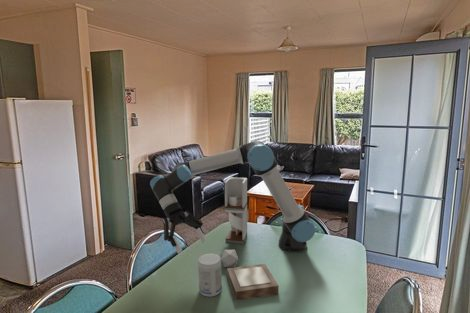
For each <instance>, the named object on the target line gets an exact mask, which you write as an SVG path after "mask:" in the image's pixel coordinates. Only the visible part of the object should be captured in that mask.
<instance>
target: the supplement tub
mask: <svg viewBox="0 0 470 313" xmlns="http://www.w3.org/2000/svg"><path fill="white" fill-rule="evenodd" d="M221 258H222V257H221V256H220V255H219V254H216V253H204V254H202V255H201V256H199V258H198V260H197V262H198V263H197V267H198V268H197V269H198V270H197V271H198V288H199V293H200V294H201V295H202V296H204V297H208V298H209V297H216V296H218V295H219V294H221V292H222V290H223V284H222V282H223V281H222V280H223V279H222V276H223V275H222V260H221Z"/></svg>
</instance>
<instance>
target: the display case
mask: <svg viewBox="0 0 470 313" xmlns="http://www.w3.org/2000/svg"><path fill="white" fill-rule="evenodd" d="M224 213H228V222H229V224H230V225H231V228H230V229H231V230H229V231H228V233H227V235H226V237H225V243H232V244H233V243H235V244H245V242H246V239H247V237H248V178H247V177H231V176H230V177H228V178H227V179H226V180H225V181H224Z"/></svg>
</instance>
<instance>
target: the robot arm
mask: <svg viewBox="0 0 470 313" xmlns="http://www.w3.org/2000/svg"><path fill="white" fill-rule="evenodd" d="M237 164H241V165H244V164H249V165H250V166H251V168H252V170H253V171H254V173H255V175H256V176H257V177H261V180H262V181H263V182H264V184H265V185H266V186H265V187H266V188H267V190H268V191H269V193H270V195H271V196H272V197H273V200H274V201H275V203H276V205H277V207H278V208H279V209H280V211H281V213H282V214H281V215H282V218H281V219H282V221H281V222H282V224H281V228H282V229H281V233H280V236H279V240H278V246H279V248H281V249H282V250H284V251H287V252H293V253H294V252H302V251H304V250H306V249H307V244H308V243H307V242H308V241H310V240H312V238H313V237H314V235H315V234H316V226H315V224H314V222H313V221H311V219H310V217H309V216H308V213H307V212H306V210H305V206H304V205H302V204H298V203H297V201H296V200H295V198H294V195H293V193H292V192H291V190H290V189H289V187H288V185H287V183H286V181H285V180H284V178H283V177H282V175H281V173H280V171H279V169H278V165H279V163H278V160H276V157H275V154H274V151H273V150H272V149H271V148H270V146H268V145H267V144H265V143H264V142H261V141H260V140H259V141H258V140H254V141H250V142H247V143H243V144H241V145H238V146H237V147H236V148H235V149H230V150H226V151H223V152H219V153H215V154H211V155H207V156H204V157H201V158H195V159H192V160H189V161H181V162H178V163H176V164H175V165H174V167H173V170H172V171H171V172H170V173H169V174H167V175H165V176H164V175H162V174H159V175H157V176H154V177H153V178H152V179H151V180H150V182H149V185H150V188H151V190H152V192H153V193H154V195H155V198H156V199H157V201H158V203H159V205H160V206H161V209H162V210H163V212H164V214H165V216H166V217H164V218H163V219H162V224H163V240H164V241H167V242H170V245H171V246H172V247H173V248H174V249H175V250H176V252H177V254H178V255H179V254H181V253H182V252H183V249H182V247H181V245H180V243H179V241H178V240H177V238H176V237H175V236H174V234H175V229H176V226H178V225H182V224H184V225H185V224H186V225H187V226H189V227H191V228H194V229H196V230H195V233H196V234H197V236H198V237H199V239H200V241H201V243H202V244H203V243H205V242H206V241H207V238H206V236H205V233H204V230H203V229H202V226H203V224H204V223H203V222H202V221H201V220H199V219H198V218H197V217H196V216H195V215H193V213H191V212H190V210H189V209H187V210H186V211H185V212H184V211H183V209H182V206H181V204H180V202H178V199H177V198H176V196H175V194H174V192H173V191H174V190H176V189H178V188H179V187H181V186H182V185H184V184H185V183H186V182H188V181H189V180H191V179H192V178H193V176H195V175H199V174H203V173H207V172H211V171H215V170H218V169H222V168H226V167H229V166H233V165H237ZM169 223H170V225H169ZM169 226H170V227H169ZM169 229H170V230H169Z"/></svg>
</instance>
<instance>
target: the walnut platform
mask: <svg viewBox="0 0 470 313" xmlns="http://www.w3.org/2000/svg"><path fill="white" fill-rule="evenodd" d="M226 268H227V269H226V274H227V276H226V277H227V279H228V283H229V285H230V289H231V291H232V293H233V296H234V299H235V301H244V300H251V299H258V298H265V297H271V296H277V295H279V284H278V282H277V280H276V279H275V277H274V276H273V274H272V273H271V271H270V269H269V268H268V266H267V264H266V263H261V264H260V263H259V264H251V265H245V266H237V267H236V266H235V267H226Z"/></svg>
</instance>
